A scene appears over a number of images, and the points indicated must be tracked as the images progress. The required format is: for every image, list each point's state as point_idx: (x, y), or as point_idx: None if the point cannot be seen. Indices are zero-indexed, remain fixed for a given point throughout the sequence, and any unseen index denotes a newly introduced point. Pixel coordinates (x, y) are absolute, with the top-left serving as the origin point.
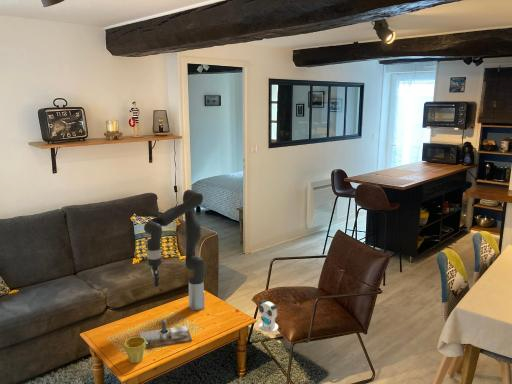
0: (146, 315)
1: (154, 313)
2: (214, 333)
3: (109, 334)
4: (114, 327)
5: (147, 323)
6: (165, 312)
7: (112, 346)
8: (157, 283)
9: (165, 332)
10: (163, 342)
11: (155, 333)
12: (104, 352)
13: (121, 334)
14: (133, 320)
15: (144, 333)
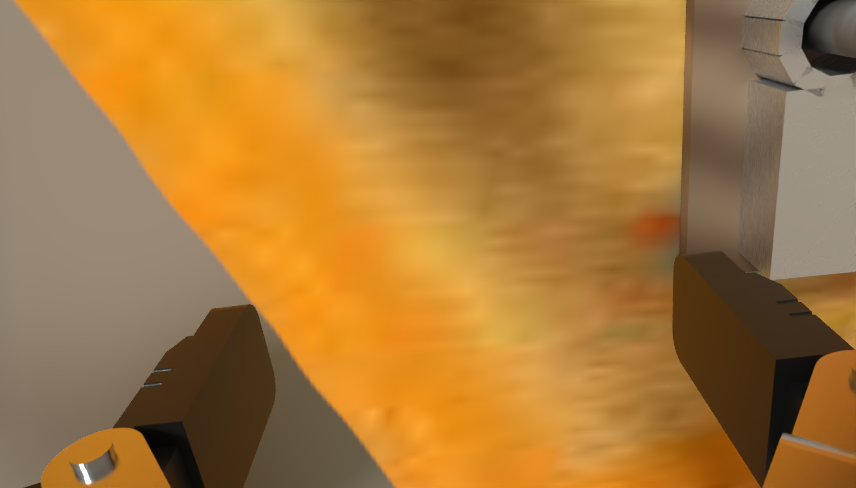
0: (253, 207)
1: (215, 131)
2: None
3: (541, 464)
4: (438, 441)
5: (417, 193)
6: (197, 9)
7: None
8: (810, 325)
9: None
10: None
11: (854, 127)
12: None
13: (565, 388)
14: (340, 314)
15: (807, 238)
